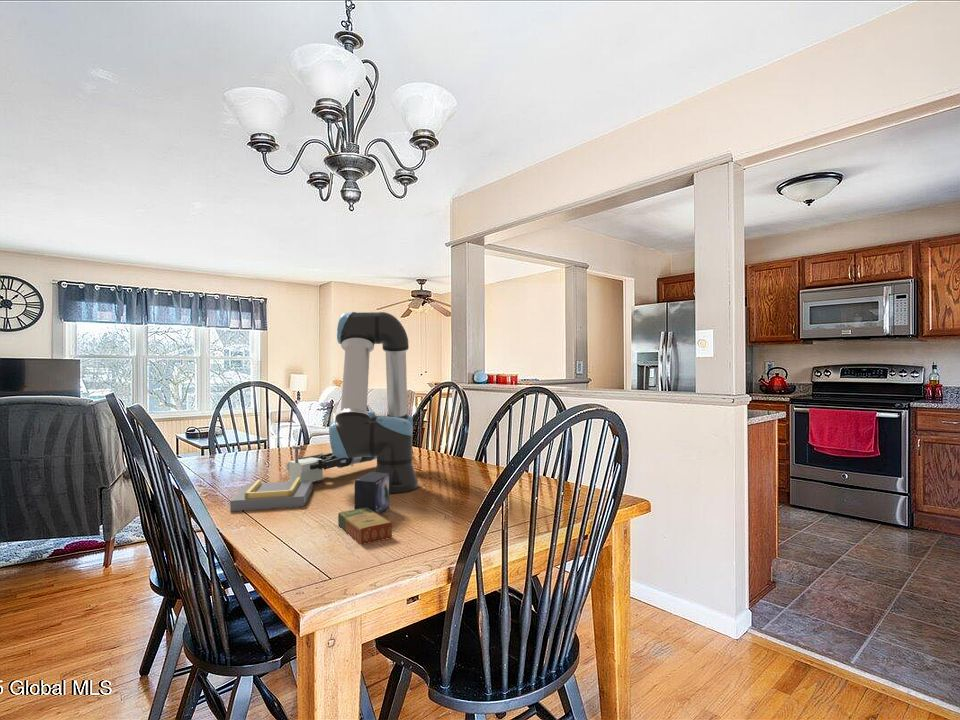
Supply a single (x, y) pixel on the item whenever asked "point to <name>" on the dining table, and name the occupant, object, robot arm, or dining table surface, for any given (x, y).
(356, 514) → the carton
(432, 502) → the dining table surface
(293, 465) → the plunger detonator box
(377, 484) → the small box
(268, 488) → the dock
